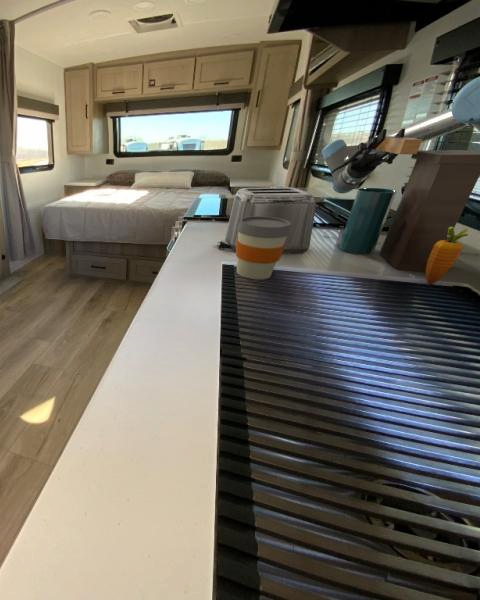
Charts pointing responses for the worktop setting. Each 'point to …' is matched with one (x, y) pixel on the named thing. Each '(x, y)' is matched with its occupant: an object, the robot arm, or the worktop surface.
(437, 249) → the carrot
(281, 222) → the reusable coffee cup
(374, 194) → the tall cup
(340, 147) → the robot arm
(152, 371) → the worktop surface
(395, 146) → the oak bar
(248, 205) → the toaster
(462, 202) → the walnut stand
